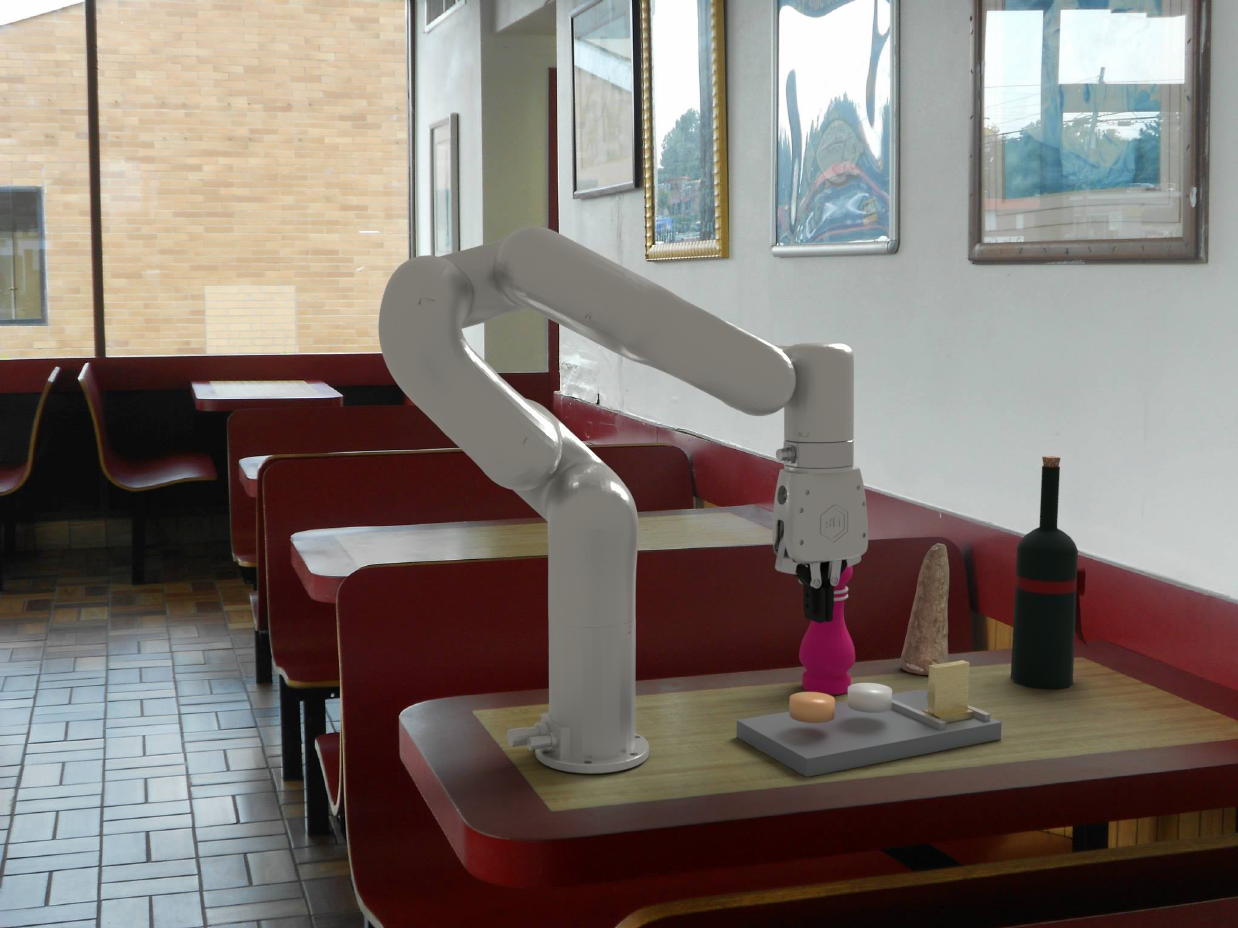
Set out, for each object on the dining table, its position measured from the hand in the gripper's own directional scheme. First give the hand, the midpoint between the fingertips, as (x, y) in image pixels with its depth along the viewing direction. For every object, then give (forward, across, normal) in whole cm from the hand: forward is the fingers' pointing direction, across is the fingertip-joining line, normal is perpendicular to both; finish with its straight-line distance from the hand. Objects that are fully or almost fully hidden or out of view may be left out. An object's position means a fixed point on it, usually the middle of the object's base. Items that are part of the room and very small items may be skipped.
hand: (818, 619), depth 140 cm
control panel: (+15, +7, 0) cm, 17 cm away
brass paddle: (+13, +16, -3) cm, 21 cm away
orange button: (+11, -1, 0) cm, 11 cm away
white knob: (+11, +7, 0) cm, 13 cm away
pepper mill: (+15, +14, +18) cm, 28 cm away
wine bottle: (+16, +43, +8) cm, 47 cm away
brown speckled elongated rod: (+15, +31, +19) cm, 40 cm away
